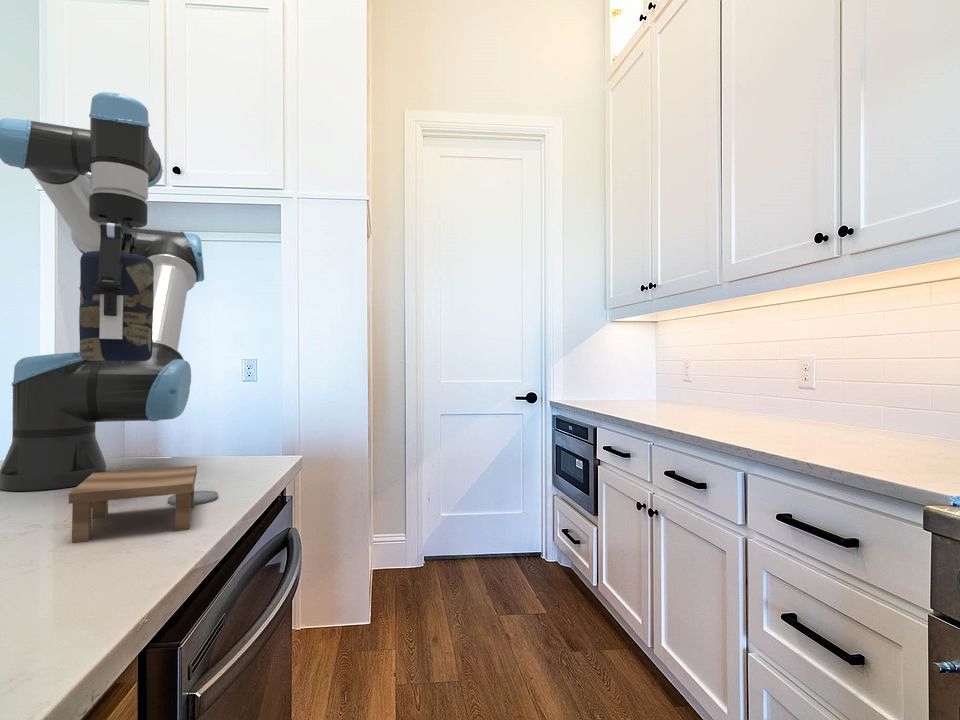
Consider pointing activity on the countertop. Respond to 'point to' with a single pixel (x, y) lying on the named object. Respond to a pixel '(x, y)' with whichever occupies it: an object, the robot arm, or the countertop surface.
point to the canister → (135, 311)
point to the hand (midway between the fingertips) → (117, 340)
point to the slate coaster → (198, 497)
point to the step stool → (130, 494)
